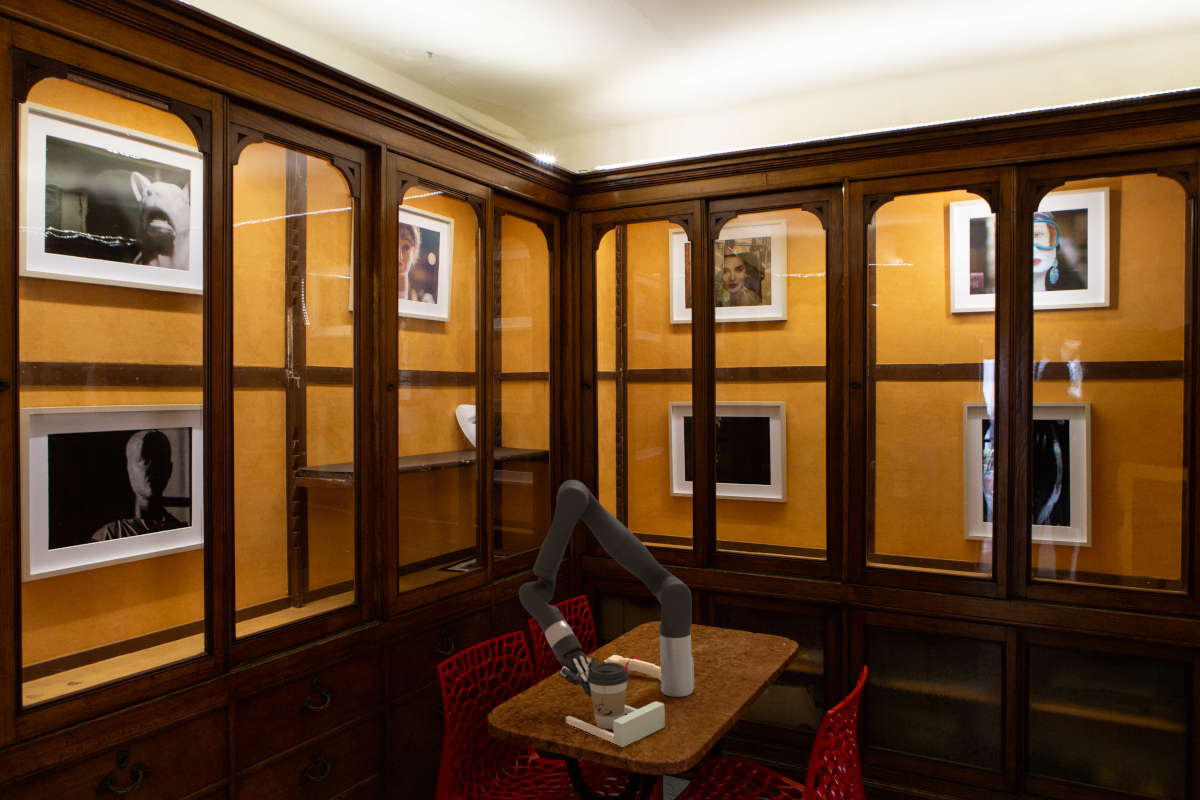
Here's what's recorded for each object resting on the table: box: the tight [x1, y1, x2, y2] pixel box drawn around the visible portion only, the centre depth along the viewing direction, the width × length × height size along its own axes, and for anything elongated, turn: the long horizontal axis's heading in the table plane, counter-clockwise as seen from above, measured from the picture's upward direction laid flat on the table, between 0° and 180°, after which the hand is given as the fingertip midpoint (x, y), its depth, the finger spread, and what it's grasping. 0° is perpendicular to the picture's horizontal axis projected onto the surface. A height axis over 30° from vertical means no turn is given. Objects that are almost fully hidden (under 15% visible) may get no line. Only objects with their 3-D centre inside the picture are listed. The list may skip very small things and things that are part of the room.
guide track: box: [565, 701, 666, 748], centre depth 202 cm, size 16×21×6 cm
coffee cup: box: [586, 662, 630, 730], centre depth 203 cm, size 11×11×15 cm
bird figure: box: [602, 654, 661, 682], centre depth 238 cm, size 10×9×25 cm
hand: (593, 694), depth 208 cm, fingers closed
